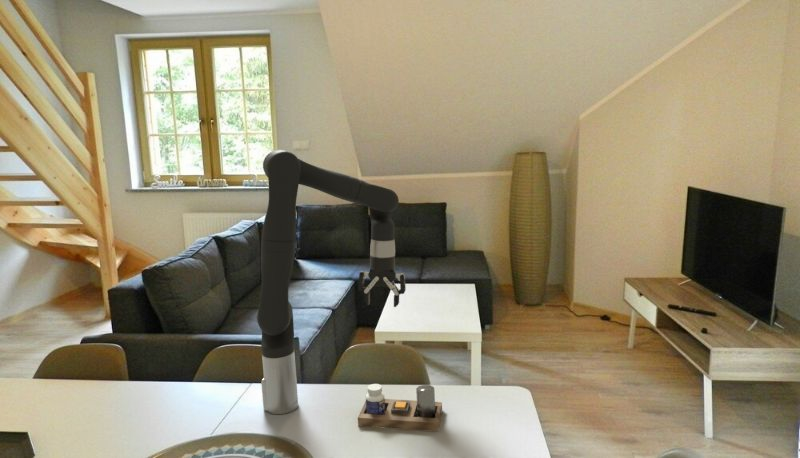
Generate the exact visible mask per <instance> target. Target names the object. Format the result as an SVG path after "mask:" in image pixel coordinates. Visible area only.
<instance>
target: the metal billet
mask: <svg viewBox="0 0 800 458" xmlns="http://www.w3.org/2000/svg"><path fill="white" fill-rule="evenodd" d="M415 393H416V401H417V414H416V416H417V417H424V418H435V416H436V414H435V402H436V397H435V396H436V393H435V387H434V386H432V385H431V384H430V385H429V384H422V385H421V384H420V385H419V386H417V387H416V389H415Z"/></svg>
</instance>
